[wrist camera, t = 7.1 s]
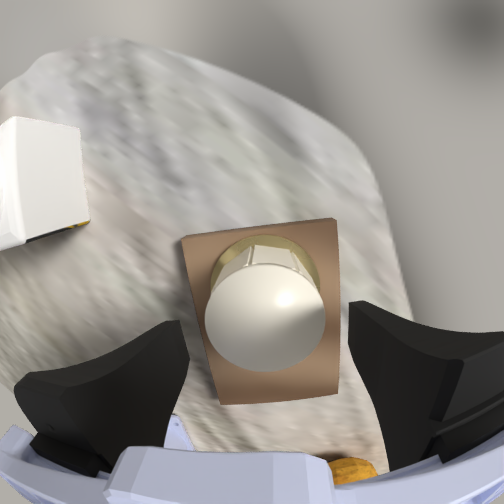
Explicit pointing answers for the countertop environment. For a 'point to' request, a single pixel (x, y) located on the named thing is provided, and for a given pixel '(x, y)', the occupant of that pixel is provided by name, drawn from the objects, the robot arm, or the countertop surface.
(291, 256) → the cap
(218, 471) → the robot arm
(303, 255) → the knob
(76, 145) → the medicine bottle
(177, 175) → the countertop surface
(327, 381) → the board
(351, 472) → the potato
